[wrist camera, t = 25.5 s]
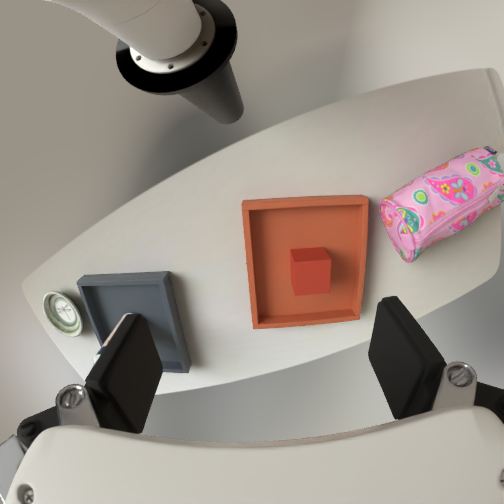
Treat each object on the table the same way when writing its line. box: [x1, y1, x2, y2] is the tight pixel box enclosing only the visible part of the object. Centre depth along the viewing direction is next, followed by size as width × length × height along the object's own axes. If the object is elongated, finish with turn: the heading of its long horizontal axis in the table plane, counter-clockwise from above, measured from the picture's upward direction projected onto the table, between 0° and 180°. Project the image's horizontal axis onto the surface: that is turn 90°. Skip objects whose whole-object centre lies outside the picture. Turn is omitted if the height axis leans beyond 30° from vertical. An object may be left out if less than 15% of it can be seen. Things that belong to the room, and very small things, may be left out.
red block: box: [290, 247, 331, 296], centre depth 35 cm, size 4×4×4 cm
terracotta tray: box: [241, 195, 369, 329], centre depth 36 cm, size 18×16×3 cm
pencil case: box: [379, 146, 504, 262], centre depth 29 cm, size 21×9×9 cm, turn 117°
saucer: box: [43, 291, 83, 337], centre depth 40 cm, size 10×10×2 cm
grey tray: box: [77, 271, 191, 373], centre depth 40 cm, size 18×16×3 cm
